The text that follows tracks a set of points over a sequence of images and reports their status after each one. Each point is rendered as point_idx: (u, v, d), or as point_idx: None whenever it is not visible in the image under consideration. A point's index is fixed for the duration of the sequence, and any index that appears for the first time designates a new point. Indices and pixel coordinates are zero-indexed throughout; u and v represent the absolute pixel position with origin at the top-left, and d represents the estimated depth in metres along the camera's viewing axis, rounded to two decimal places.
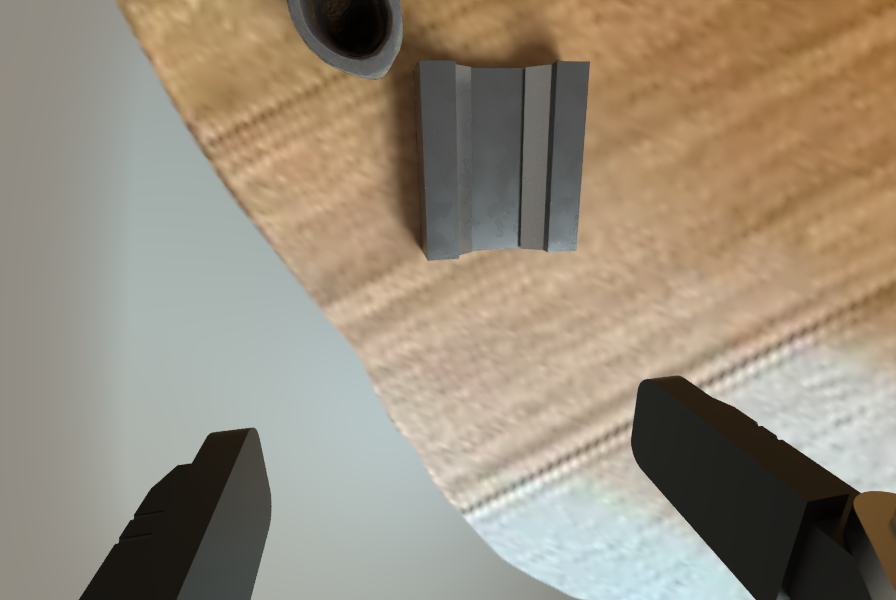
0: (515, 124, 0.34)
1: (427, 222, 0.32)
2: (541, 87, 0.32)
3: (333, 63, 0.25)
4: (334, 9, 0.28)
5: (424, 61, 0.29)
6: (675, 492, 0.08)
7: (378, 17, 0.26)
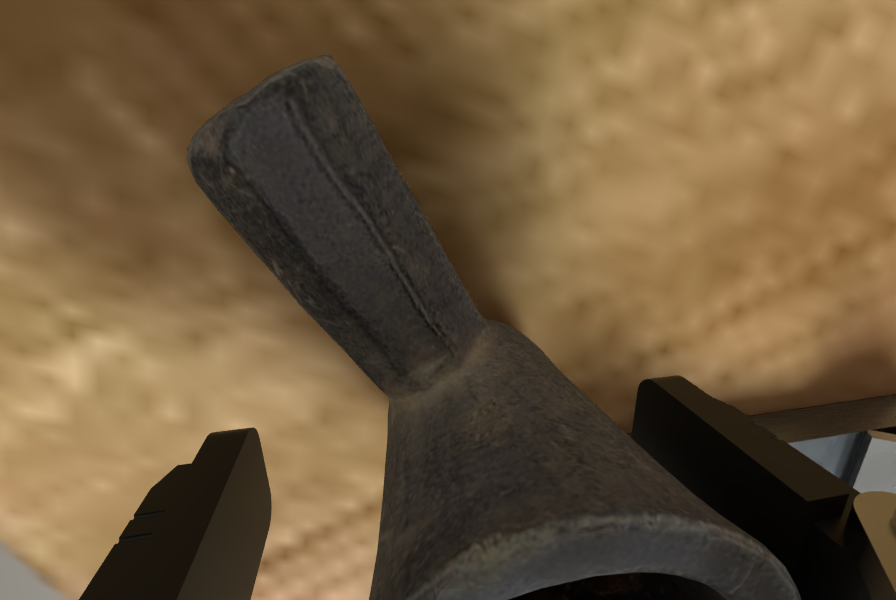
0: None
1: None
2: None
3: None
4: None
5: None
6: None
7: None
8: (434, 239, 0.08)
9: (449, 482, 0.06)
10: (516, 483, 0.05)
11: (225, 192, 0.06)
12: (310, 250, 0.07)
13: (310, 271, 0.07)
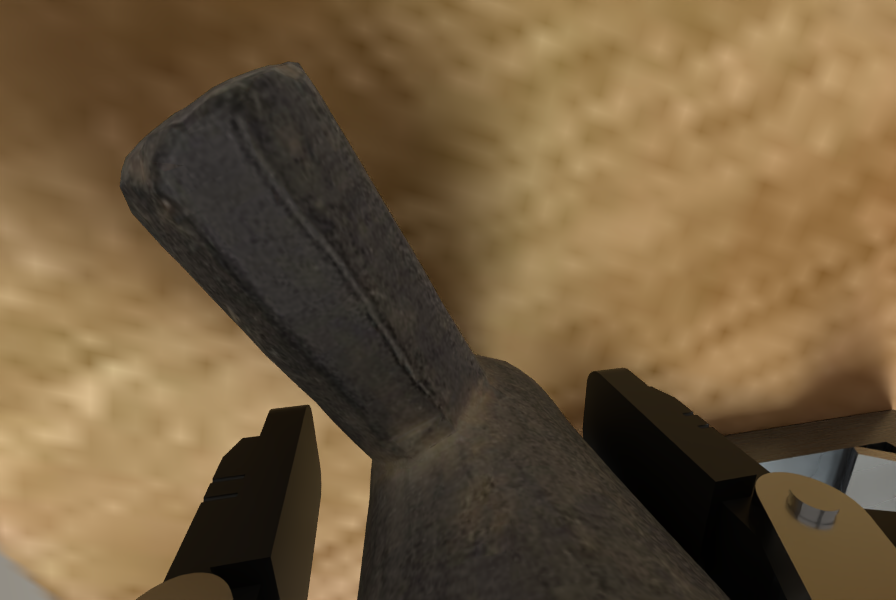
0: None
1: None
2: (895, 501, 0.14)
3: None
4: None
5: None
6: None
7: None
8: (423, 277, 0.07)
9: None
10: None
11: (164, 229, 0.05)
12: (268, 299, 0.05)
13: (269, 322, 0.06)
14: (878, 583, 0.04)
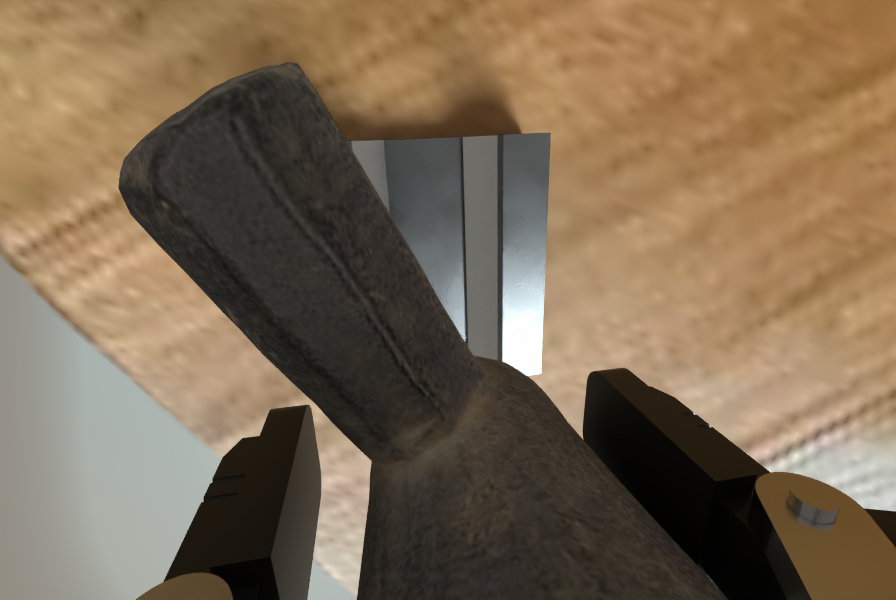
0: (454, 211, 0.25)
1: None
2: (485, 165, 0.23)
3: None
4: None
5: None
6: (617, 478, 0.09)
7: None
8: (422, 278, 0.07)
9: None
10: None
11: (163, 230, 0.05)
12: (267, 300, 0.05)
13: (268, 324, 0.06)
14: (878, 583, 0.04)
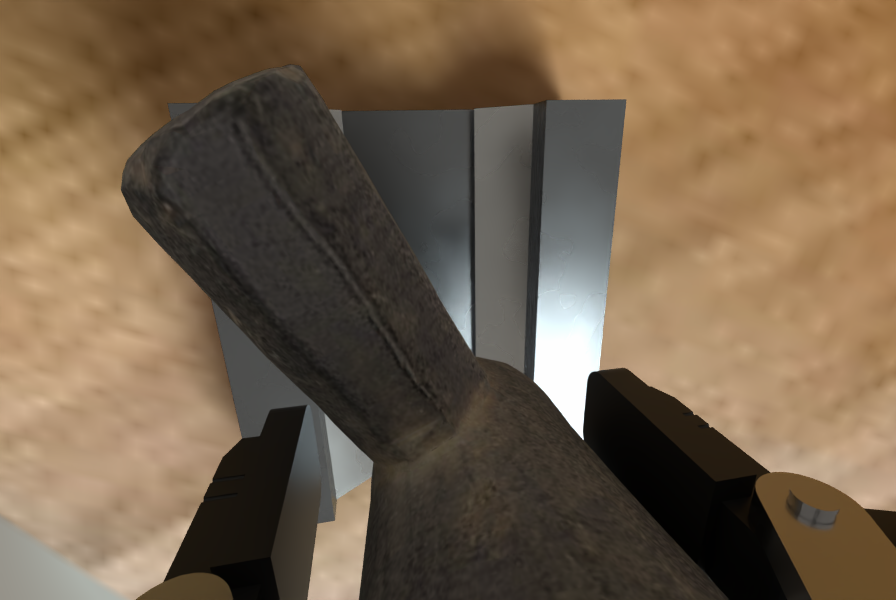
0: (457, 229, 0.15)
1: None
2: (511, 156, 0.14)
3: None
4: None
5: (183, 106, 0.11)
6: None
7: None
8: (424, 280, 0.07)
9: None
10: None
11: (166, 233, 0.05)
12: (269, 303, 0.05)
13: (271, 325, 0.06)
14: (879, 582, 0.04)
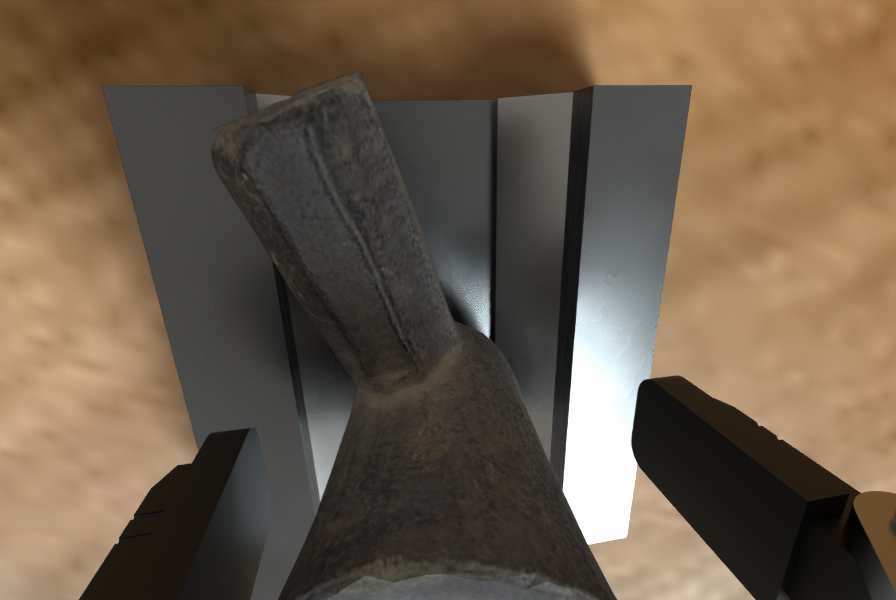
0: (475, 244, 0.13)
1: None
2: (543, 156, 0.11)
3: None
4: None
5: (123, 90, 0.08)
6: (675, 492, 0.08)
7: None
8: (425, 261, 0.08)
9: (379, 492, 0.07)
10: (429, 512, 0.06)
11: (238, 190, 0.07)
12: (305, 259, 0.07)
13: (302, 274, 0.07)
14: None
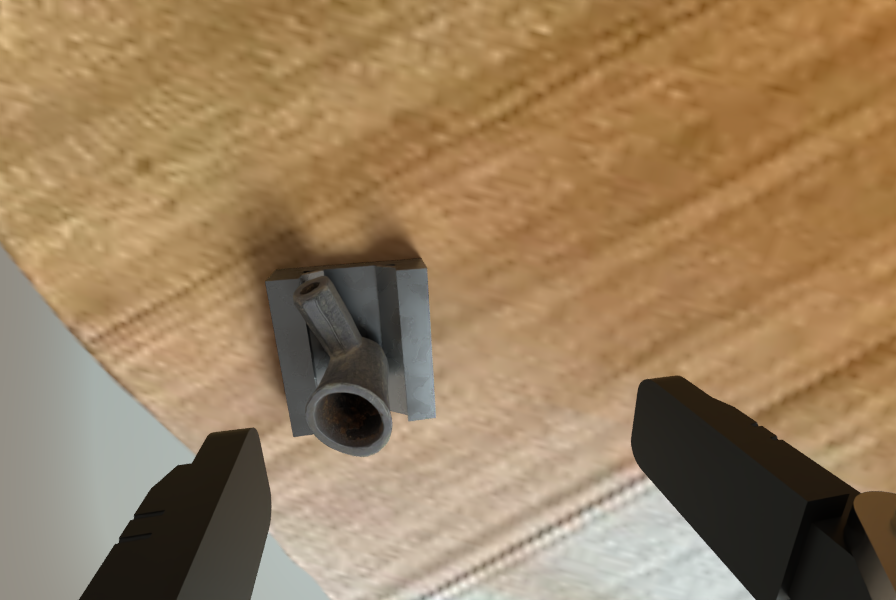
0: (373, 310, 0.37)
1: (288, 406, 0.36)
2: (389, 284, 0.36)
3: (332, 447, 0.32)
4: None
5: (269, 281, 0.32)
6: (675, 492, 0.08)
7: None
8: (346, 322, 0.33)
9: (331, 375, 0.31)
10: (340, 377, 0.30)
11: (300, 310, 0.31)
12: (315, 324, 0.31)
13: (314, 328, 0.32)
14: None
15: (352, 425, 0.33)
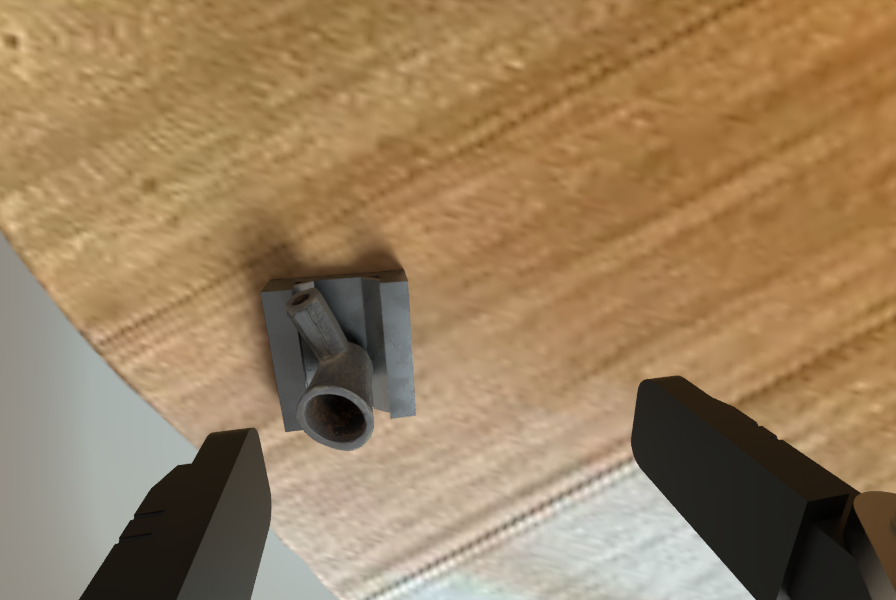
0: (359, 317, 0.41)
1: (281, 404, 0.39)
2: (374, 295, 0.39)
3: (320, 442, 0.36)
4: None
5: (264, 293, 0.36)
6: (675, 492, 0.08)
7: None
8: (333, 330, 0.36)
9: (319, 378, 0.34)
10: (327, 380, 0.34)
11: (292, 319, 0.35)
12: (305, 332, 0.35)
13: (304, 335, 0.35)
14: None
15: (338, 422, 0.37)
